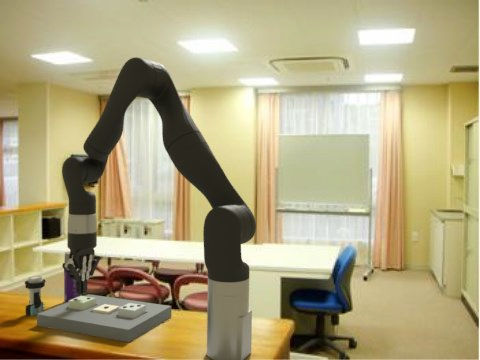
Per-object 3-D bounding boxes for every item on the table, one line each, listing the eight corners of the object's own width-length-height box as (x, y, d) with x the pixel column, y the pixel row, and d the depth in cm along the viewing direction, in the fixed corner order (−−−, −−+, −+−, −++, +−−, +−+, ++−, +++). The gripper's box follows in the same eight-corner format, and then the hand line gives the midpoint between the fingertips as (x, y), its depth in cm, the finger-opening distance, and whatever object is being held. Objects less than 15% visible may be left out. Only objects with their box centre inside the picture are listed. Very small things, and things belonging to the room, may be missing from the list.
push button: (36, 308, 135) (36, 273, 134) (52, 309, 133) (52, 275, 133) (20, 315, 128) (20, 279, 128) (37, 317, 127) (37, 280, 126)
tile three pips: (145, 314, 123) (145, 304, 123) (134, 320, 118) (134, 309, 118) (129, 311, 125) (129, 302, 125) (117, 317, 120) (118, 307, 120)
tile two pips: (95, 306, 129) (95, 297, 129) (83, 311, 124) (83, 302, 124) (81, 304, 131) (81, 295, 131) (68, 309, 126) (68, 299, 126)
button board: (171, 316, 129) (171, 306, 129) (128, 342, 110) (128, 329, 110) (88, 304, 139) (88, 294, 139) (36, 325, 120) (36, 314, 120)
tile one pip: (119, 315, 126) (120, 305, 126) (108, 320, 121) (108, 311, 121) (104, 312, 128) (104, 303, 128) (92, 318, 123) (92, 308, 123)
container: (75, 304, 138) (75, 254, 138) (61, 303, 139) (61, 253, 139) (83, 300, 143) (83, 251, 142) (69, 299, 144) (69, 250, 143)
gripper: (76, 234, 119) (76, 302, 120) (109, 228, 131) (108, 289, 132) (53, 232, 122) (53, 298, 122) (87, 226, 134) (86, 286, 135)
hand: (81, 293), depth 127 cm, fingers closed
